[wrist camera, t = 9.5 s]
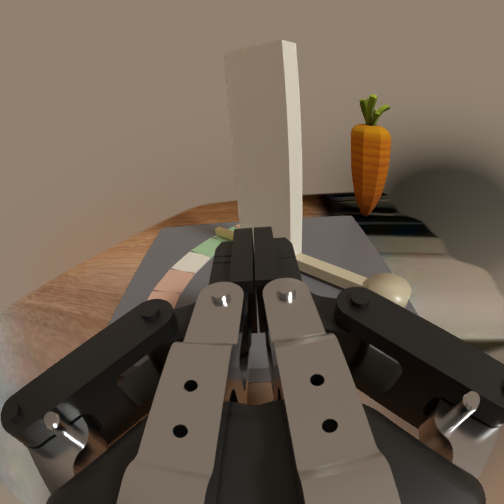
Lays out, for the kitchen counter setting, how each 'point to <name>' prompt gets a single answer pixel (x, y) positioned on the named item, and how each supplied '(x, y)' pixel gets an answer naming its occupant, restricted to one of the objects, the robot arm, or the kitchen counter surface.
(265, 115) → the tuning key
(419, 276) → the kitchen counter surface
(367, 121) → the carrot
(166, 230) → the gauge dial plate
